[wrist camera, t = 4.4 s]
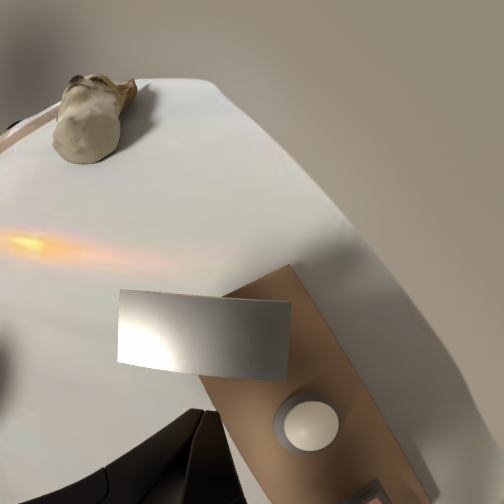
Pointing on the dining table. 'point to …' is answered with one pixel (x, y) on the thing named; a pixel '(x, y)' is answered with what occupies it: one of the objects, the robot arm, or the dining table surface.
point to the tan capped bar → (205, 334)
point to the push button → (311, 425)
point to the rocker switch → (373, 498)
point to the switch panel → (303, 390)
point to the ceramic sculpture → (90, 118)
